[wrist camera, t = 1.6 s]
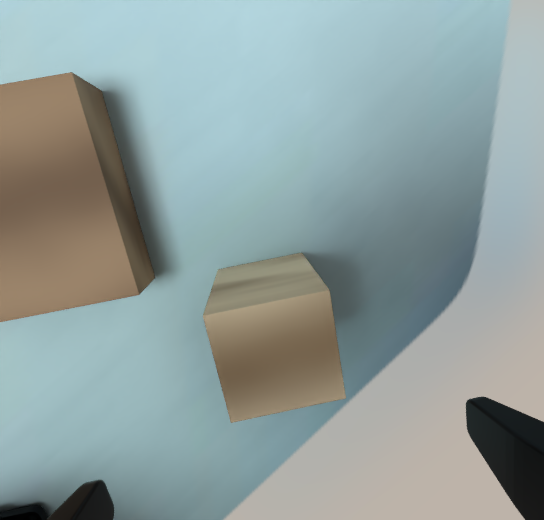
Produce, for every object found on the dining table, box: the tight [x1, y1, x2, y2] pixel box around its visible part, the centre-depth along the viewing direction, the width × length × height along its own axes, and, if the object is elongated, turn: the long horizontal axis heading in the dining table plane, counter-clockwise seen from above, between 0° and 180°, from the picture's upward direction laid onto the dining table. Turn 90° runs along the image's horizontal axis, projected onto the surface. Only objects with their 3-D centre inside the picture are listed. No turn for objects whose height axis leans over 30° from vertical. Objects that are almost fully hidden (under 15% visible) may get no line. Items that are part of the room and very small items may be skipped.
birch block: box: [203, 253, 346, 423], centre depth 15 cm, size 4×4×6 cm
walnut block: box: [0, 72, 155, 322], centre depth 15 cm, size 9×9×3 cm
